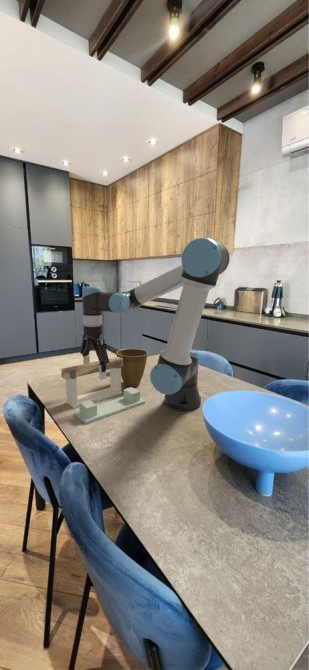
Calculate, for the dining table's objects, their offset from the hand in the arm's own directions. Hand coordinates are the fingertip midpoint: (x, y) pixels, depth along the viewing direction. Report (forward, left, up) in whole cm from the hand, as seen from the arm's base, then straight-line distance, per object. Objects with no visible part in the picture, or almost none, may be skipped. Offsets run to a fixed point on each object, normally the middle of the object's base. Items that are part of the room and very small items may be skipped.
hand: (94, 374), depth 119 cm
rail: (0, 0, +1) cm, 1 cm away
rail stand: (0, 0, -10) cm, 10 cm away
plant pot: (+3, -22, -11) cm, 25 cm away
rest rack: (-13, 0, -10) cm, 17 cm away
